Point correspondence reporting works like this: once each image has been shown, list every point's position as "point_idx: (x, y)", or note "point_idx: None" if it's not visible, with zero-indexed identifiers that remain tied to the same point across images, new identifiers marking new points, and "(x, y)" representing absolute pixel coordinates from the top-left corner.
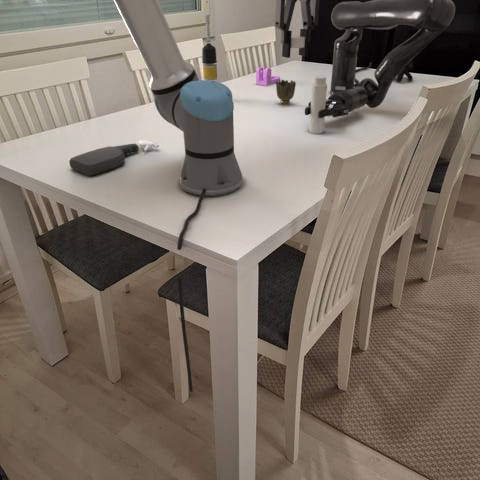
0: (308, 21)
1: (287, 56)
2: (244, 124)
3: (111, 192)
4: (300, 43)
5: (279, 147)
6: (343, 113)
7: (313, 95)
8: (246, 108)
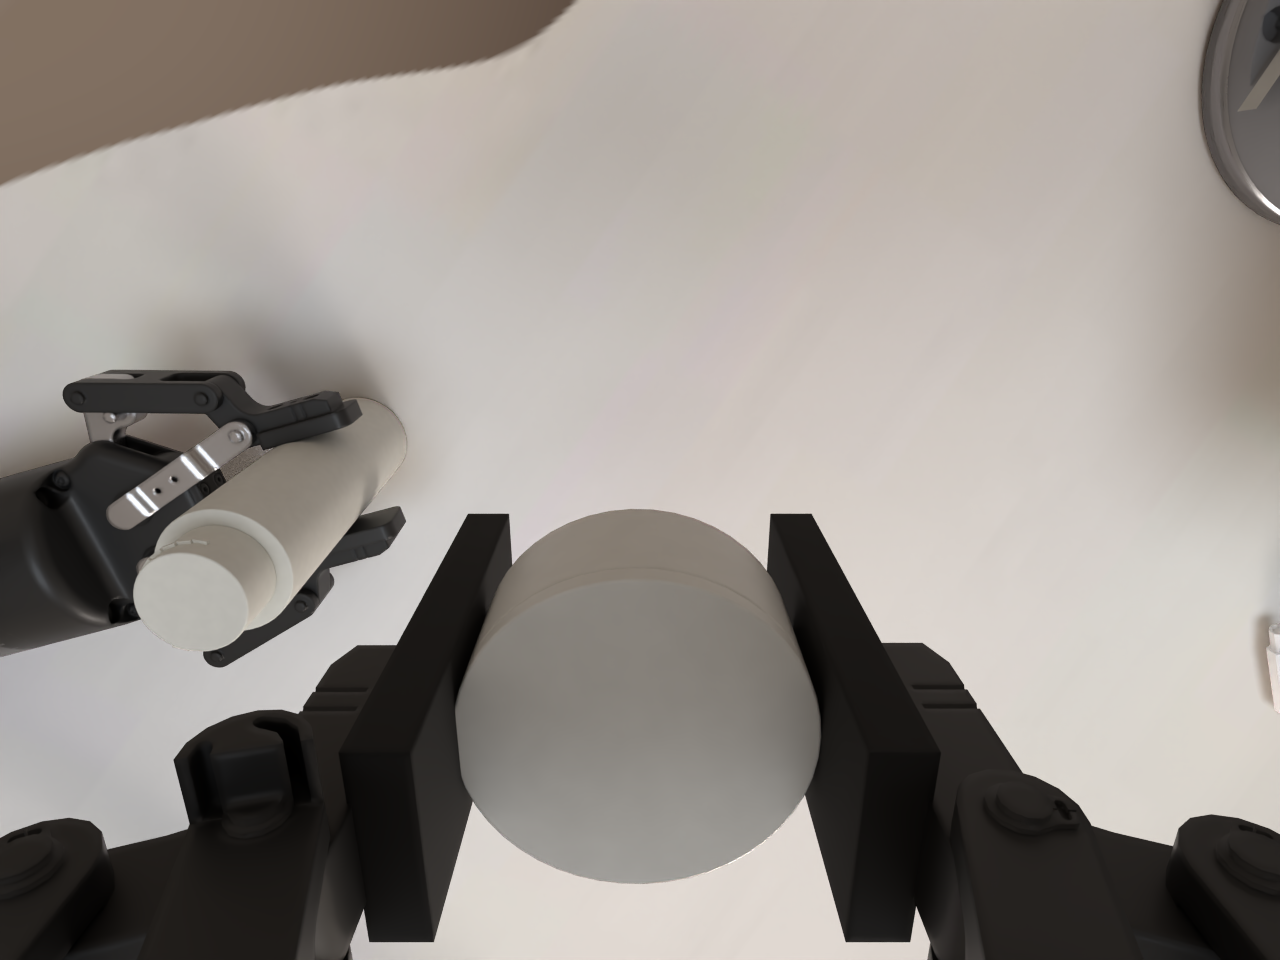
0: (277, 933)
1: (814, 528)
2: None
3: None
4: (645, 540)
5: (721, 327)
6: (146, 374)
7: (325, 529)
8: (507, 945)
